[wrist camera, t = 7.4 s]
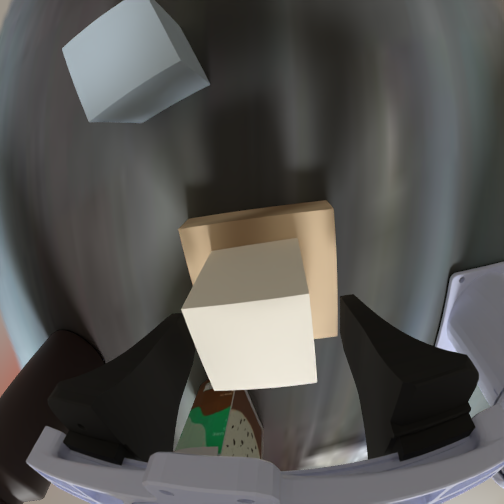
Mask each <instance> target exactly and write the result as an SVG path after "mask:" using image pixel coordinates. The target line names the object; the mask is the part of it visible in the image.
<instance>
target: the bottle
mask: <svg viewBox="0 0 504 504" xmlns="http://www.w3.org/2000/svg"><path fill="white" fill-rule="evenodd" d="M102 365H104V362H103V360H102V358H101V357H100V355H99V354H98V352H97V351H96V350H95V349H94V348H93V347H92V346H91V345H90V344H89V343H88V342H87V341H86V340H84V339H83V338H81V337H80V336H78V335H77V334H74V333H72V332H69V331H66V330H58V331H56V332H54V333H53V334H52V335H51V336H50V337H49V338H48V339H47V340H46V341H45V343H44V344H43V345H42V346H41V347H40V348H39V350H38V351H37V352H36V353H35V354H34V355H33V357H32V358H31V359H30V360H29V362H28V363H27V364H26V365H25V366H24V368H23V369H22V370H21V371H20V373H19V374H18V375H17V376H16V378H15V379H14V380H13V382H12V383H11V384H10V386H9V387H8V388H7V389H6V391H5V392H4V393H3V395H2V396H1V398H0V504H23V502H27V501H35V500H41V499H43V498H44V497H45V495H46V493H47V490H48V488H49V486H50V484H51V482H50V481H48V480H47V479H46V478H44V477H43V476H42V475H40V474H39V473H38V472H37V471H35V470H34V469H33V468H32V467H31V466H29V465H28V464H27V463H26V460H27V458H28V456H29V454H30V453H31V451H32V449H33V447H34V445H35V444H36V442H37V440H38V438H39V437H40V435H41V433H42V431H43V430H44V428H45V426H48V427H51V428H54V429H56V430H59V431H61V432H63V433H64V434H66V435H67V433H68V431H69V430H68V429H67V428H66V427H65V425H64V424H63V423H62V422H61V421H60V420H59V419H58V418H57V416H56V415H55V414H54V413H53V412H52V410H51V409H50V407H49V405H48V398H49V396H50V395H51V393H52V392H53V390H54V389H55V387H56V386H57V384H58V383H59V382H60V381H64V380H67V379H70V378H74V377H77V376H80V375H82V374H85V373H87V372H90V371H92V370H94V369H97V368H99V367H101V366H102Z"/></svg>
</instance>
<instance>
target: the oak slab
mask: <svg viewBox="0 0 504 504" xmlns="http://www.w3.org/2000/svg"><path fill="white" fill-rule="evenodd" d="M178 230H179V234H180V238H181V242H182V246H183V250H184V254H185V258H186V262H187V266H188V269H189V273H190V277H191V281H192V284H193V285H194V283H195V281H196V279H197V277H198V275H199V274H200V272H201V270H202V268H203V266H204V264H205V262H206V260H207V258H208V257H209V255H210V253H211V251H214V250H221V249H227V248H233V247H240V246H246V245H252V244H259V243H265V242H272V241H278V240H285V239H291V238H298V242H299V247H300V252H301V256H302V261H303V266H304V271H305V276H306V281H307V286H308V291H309V297H310V307H311V316H312V326H313V337H314V339H319V338H326V337H333V336H337V260H336V238H335V222H334V209H333V207H332V206H331V205H330V204H329V203H328V202H327V200H323V201H314V202H306V203H297V204H289V205H281V206H273V207H265V208H258V209H250V210H243V211H236V212H229V213H222V214H216V215H209V216H203V217H196V218H190V219H188V220H187V221H186V222H185V223H184V224H183V225H182V226H181V227H180V228H179V229H178Z"/></svg>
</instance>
